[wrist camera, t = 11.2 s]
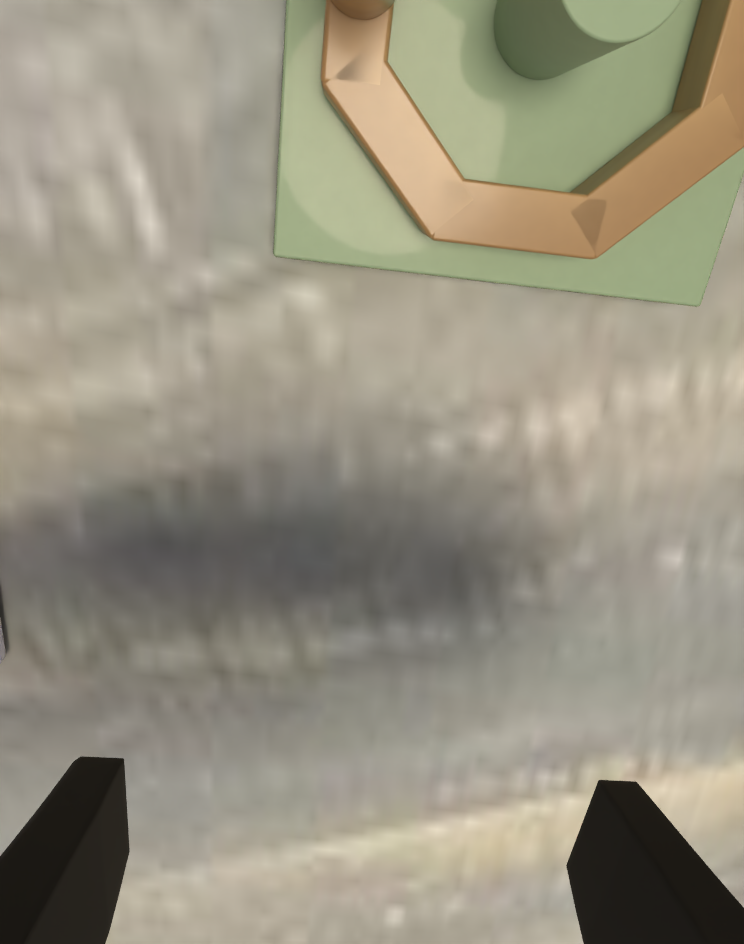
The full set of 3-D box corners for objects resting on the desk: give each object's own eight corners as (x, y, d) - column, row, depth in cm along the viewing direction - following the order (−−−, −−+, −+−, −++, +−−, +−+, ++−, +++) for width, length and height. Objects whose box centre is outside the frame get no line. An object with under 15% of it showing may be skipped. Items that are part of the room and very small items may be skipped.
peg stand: (277, 251, 15) (249, 285, 10) (310, -356, 11) (288, -751, 6) (676, 298, 16) (816, 349, 11) (845, -245, 12) (1177, -517, 7)
